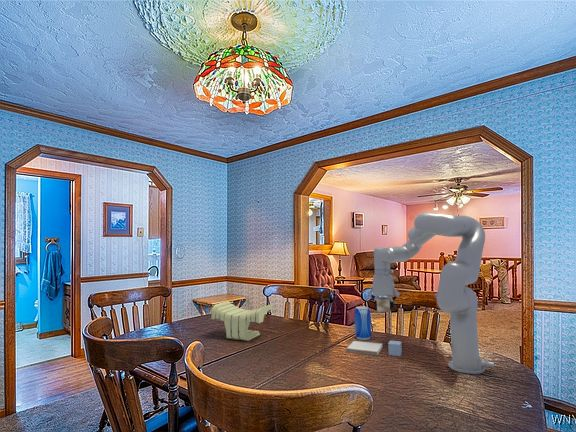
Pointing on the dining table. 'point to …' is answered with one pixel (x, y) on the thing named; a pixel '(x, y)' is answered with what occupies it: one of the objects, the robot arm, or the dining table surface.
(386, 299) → the maple cube
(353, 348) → the base board
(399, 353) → the blue cube
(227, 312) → the slatted curved stool
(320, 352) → the dining table surface
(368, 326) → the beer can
